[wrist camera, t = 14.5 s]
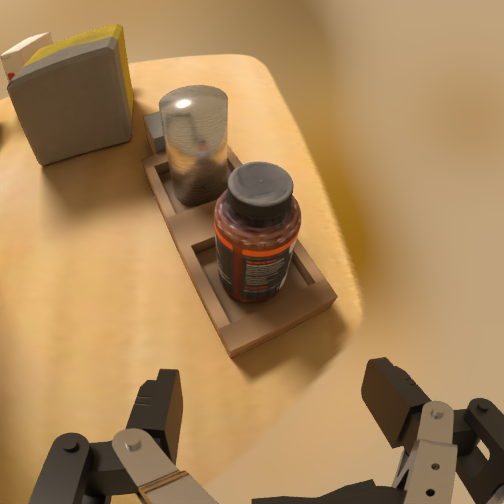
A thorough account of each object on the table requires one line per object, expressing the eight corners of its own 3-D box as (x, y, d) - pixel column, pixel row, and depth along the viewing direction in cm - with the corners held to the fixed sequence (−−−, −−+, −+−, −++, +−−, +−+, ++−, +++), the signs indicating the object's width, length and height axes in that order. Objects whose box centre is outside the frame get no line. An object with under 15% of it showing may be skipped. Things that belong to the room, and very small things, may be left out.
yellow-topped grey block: (135, 77, 51) (126, 12, 38) (132, 143, 38) (112, 46, 26) (67, 96, 48) (51, 34, 35) (39, 169, 35) (3, 86, 23)
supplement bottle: (298, 280, 27) (331, 191, 18) (246, 318, 25) (254, 238, 16) (256, 237, 30) (267, 141, 20) (205, 268, 28) (192, 174, 18)
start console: (158, 163, 36) (152, 132, 32) (147, 139, 39) (141, 110, 35) (216, 145, 38) (216, 114, 34) (200, 123, 41) (199, 94, 37)
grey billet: (183, 214, 31) (169, 124, 22) (166, 178, 33) (152, 95, 24) (236, 195, 33) (239, 106, 23) (214, 162, 35) (212, 80, 26)
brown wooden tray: (329, 307, 27) (337, 296, 25) (230, 358, 24) (230, 351, 22) (219, 149, 38) (219, 134, 36) (145, 173, 35) (141, 159, 33)
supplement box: (17, 109, 47) (-2, 56, 34) (42, 88, 51) (28, 37, 39) (38, 108, 46) (19, 49, 33) (65, 86, 50) (51, 30, 38)
